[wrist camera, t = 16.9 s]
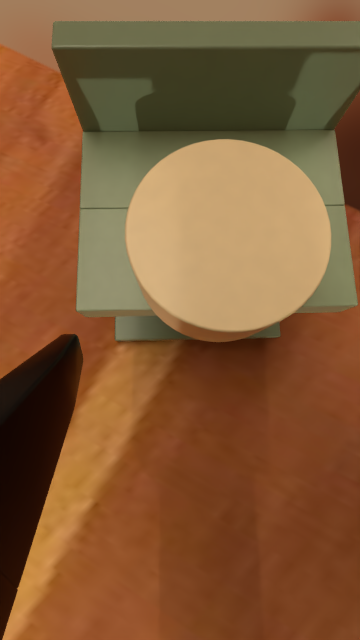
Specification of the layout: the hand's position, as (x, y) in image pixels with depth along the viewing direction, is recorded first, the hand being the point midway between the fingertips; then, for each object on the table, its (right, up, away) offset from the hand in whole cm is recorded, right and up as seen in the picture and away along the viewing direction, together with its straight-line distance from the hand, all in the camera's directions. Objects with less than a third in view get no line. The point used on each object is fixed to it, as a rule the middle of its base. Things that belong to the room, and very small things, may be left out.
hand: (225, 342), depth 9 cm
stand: (0, +3, +12) cm, 12 cm away
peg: (0, +1, +10) cm, 10 cm away
